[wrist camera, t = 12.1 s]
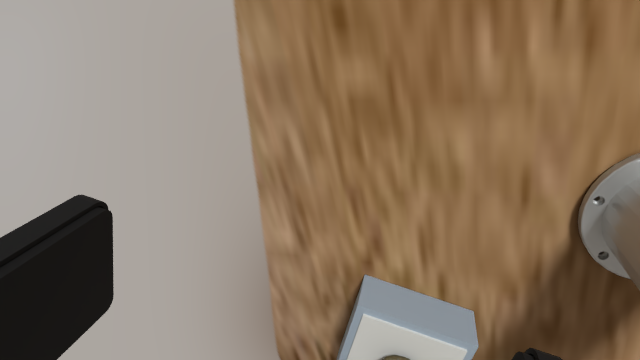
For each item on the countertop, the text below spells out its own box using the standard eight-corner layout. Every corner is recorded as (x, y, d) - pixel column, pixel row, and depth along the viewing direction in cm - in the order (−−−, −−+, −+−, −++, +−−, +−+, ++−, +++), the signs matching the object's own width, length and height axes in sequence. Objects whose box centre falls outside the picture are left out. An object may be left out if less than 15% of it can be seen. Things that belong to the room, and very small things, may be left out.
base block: (473, 311, 44) (478, 349, 39) (435, 384, 49) (435, 426, 44) (364, 274, 45) (357, 306, 40) (339, 349, 50) (329, 386, 46)
